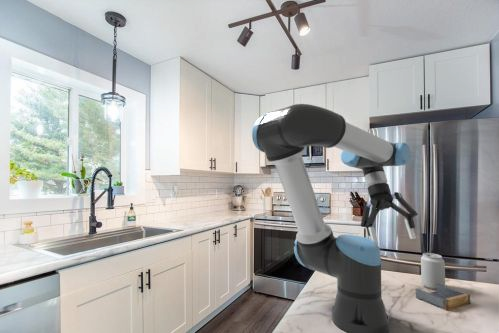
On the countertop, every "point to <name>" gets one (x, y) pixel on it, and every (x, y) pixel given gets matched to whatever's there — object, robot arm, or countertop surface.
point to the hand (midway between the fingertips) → (393, 242)
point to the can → (432, 270)
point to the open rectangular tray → (444, 297)
